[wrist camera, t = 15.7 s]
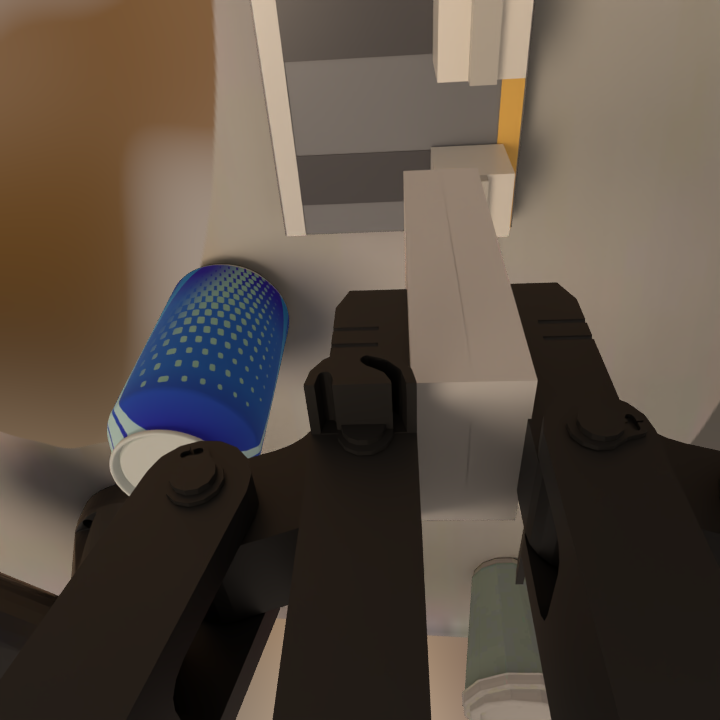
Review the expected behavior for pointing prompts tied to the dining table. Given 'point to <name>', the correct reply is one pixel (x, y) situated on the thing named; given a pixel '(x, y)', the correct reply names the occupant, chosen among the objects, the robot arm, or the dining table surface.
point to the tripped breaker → (481, 40)
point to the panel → (374, 114)
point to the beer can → (202, 372)
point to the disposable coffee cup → (502, 649)
